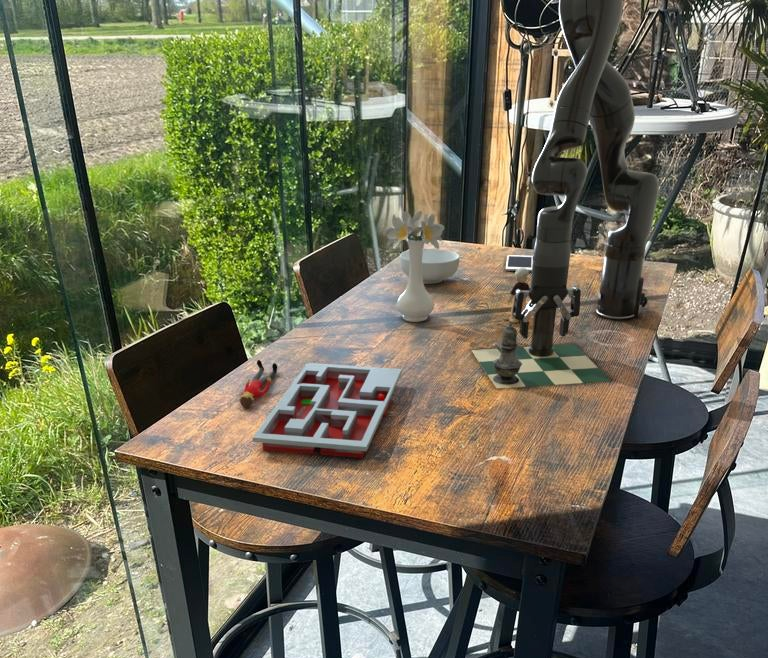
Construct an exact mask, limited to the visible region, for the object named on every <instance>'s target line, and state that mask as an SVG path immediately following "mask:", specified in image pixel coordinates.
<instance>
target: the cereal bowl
mask: <svg viewBox="0 0 768 658" xmlns="http://www.w3.org/2000/svg"><path fill="white" fill-rule="evenodd" d="M399 265H400V270H401V271H402V272H403V273H404V275H406V276H407V277H409V269H410V253H409V249H408V250H405V251H403V252H401V253H400V255H399ZM459 266H460V254H458V253H457V252H455V251H453V250H448V249H441V248H439V249H437V248H423V254H422V277H423V284H424V285H432V284H439V283H441V282H443V281H444V280H446V279H449V278H451V277H453V276H454V275H455V274H456V273H457V271H458V269H459Z"/></svg>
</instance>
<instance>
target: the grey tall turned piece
mask: <svg viewBox="0 0 768 658" xmlns="http://www.w3.org/2000/svg"><path fill="white" fill-rule="evenodd" d="M517 336H518V330H517V328H515V327H514V326H513V323H512V322H509V323H508V325H507V326H506V327H504V328H503V329H502V335H501V337H502V338H501V342H500V343H499V347H500V348H501V355H500V358H499V359H496V360H494V361H493V365H494V369H495V371H496V373H497V374H498V375H496V376H494V377H493V380H494V381H495V382H496V383H499V384H505V385H511V384H515V383H517V382H519V378H518V377H517V376H515V375H516V374H517V373H518V372H519V370H520V367H521V366H522V363H521V361H519V360H517V359H516V355H515V354H516V347H519V345H518V343H517Z"/></svg>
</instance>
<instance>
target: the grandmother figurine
mask: <svg viewBox="0 0 768 658" xmlns="http://www.w3.org/2000/svg"><path fill="white" fill-rule="evenodd" d="M529 275H530V271H528V270H527V269H525V268H520V269H518V270H516V271H515V272H514V277H515V279H516V281H517V282H515V284H514V285H513V287H512V289H511V291H510V292H509V295H508V298H507V302H508V303H511V302H512V305H511V310H510V318H509V320H508V322H509V323H512V324H518V323H520V320H517V319H515V317H514V316H513V315H512V311H513V304H514V300H513V299H514V297H515V291H516V289H520V290H523V291H528V290H529V289H530V287H531V286H529V284H528V283H527V280H528V276H529ZM526 306H527V299H526V300H525V301H523V305H522V312H523V311H524V310H525V308H526ZM522 312H521V313H522Z"/></svg>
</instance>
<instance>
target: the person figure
mask: <svg viewBox="0 0 768 658" xmlns="http://www.w3.org/2000/svg"><path fill="white" fill-rule="evenodd" d="M256 365H257V367H258V368H259V369H258V372H257V373H256V374H255V375H254V377H252V380H250V378H248V379H247V380H246V383H245V386H244V391H243V392H242V394H241V396H240V398H239V404H240V405H241V407H242V408H243V409H247V408H250V407H252V405H253V404H254V401H255V399H260V398H262V397H263V396H264V395H265V394H266V393H267V392H268V391H269V389H270V386H271V383H272V380H273V378H274V377H275V376H276V375H277V374H278V365H277V363H275V362H273V364H272V371H271V373H269V375H267V376H265V377H263V378H261V377H262V375H263V374H264V372H265V367H264V366H263V362H262V361H261V360H260V359H257V360H256ZM264 386H265V387H264Z"/></svg>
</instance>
